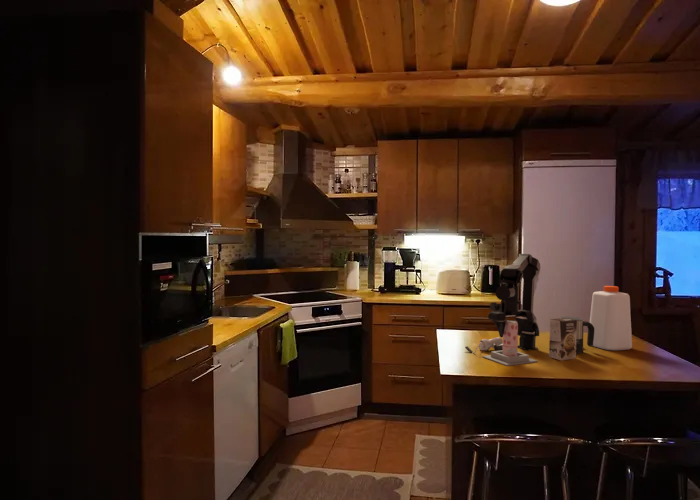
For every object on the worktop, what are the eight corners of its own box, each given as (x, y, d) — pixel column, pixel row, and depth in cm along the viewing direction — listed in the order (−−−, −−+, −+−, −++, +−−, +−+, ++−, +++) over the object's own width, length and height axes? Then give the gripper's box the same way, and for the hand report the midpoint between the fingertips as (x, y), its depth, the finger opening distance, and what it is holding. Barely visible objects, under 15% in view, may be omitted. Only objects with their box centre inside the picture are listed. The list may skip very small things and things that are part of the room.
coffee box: (561, 360, 188) (562, 321, 187) (548, 357, 193) (549, 318, 193) (576, 358, 192) (577, 319, 191) (563, 354, 198) (564, 317, 197)
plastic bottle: (608, 342, 223) (610, 284, 222) (636, 349, 209) (638, 287, 208) (583, 344, 218) (585, 284, 218) (610, 351, 204) (612, 288, 203)
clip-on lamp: (476, 363, 193) (514, 352, 197) (474, 349, 192) (512, 338, 196) (463, 353, 205) (499, 343, 208) (461, 340, 204) (497, 330, 207)
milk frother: (568, 354, 199) (569, 320, 198) (545, 345, 214) (546, 313, 214) (597, 353, 201) (598, 319, 201) (573, 344, 217) (574, 313, 216)
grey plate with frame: (511, 353, 198) (512, 347, 198) (537, 361, 185) (537, 355, 185) (482, 357, 192) (482, 351, 191) (506, 366, 179) (507, 359, 179)
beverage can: (507, 360, 185) (508, 323, 185) (499, 356, 191) (500, 320, 190) (520, 359, 187) (521, 322, 186) (511, 356, 192) (512, 320, 192)
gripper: (513, 294, 199) (513, 330, 199) (479, 296, 191) (478, 334, 192) (534, 298, 189) (533, 336, 189) (498, 300, 181) (497, 339, 182)
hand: (510, 336), depth 188 cm, fingers open, 9 cm apart
